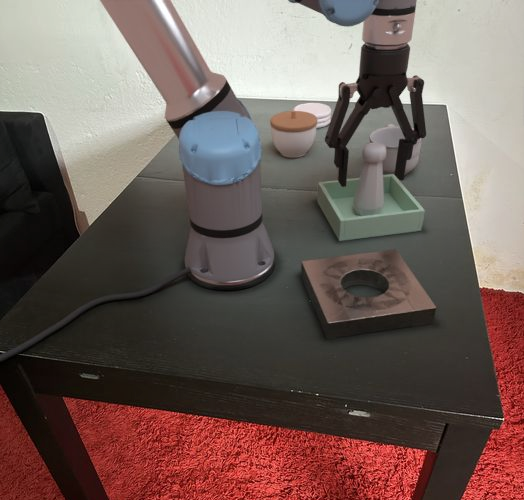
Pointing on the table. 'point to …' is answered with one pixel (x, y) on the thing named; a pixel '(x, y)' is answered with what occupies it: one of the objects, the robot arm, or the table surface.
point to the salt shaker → (370, 181)
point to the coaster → (317, 112)
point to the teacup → (394, 147)
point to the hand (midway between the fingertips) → (370, 180)
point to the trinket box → (293, 132)
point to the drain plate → (360, 308)
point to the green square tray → (385, 223)
